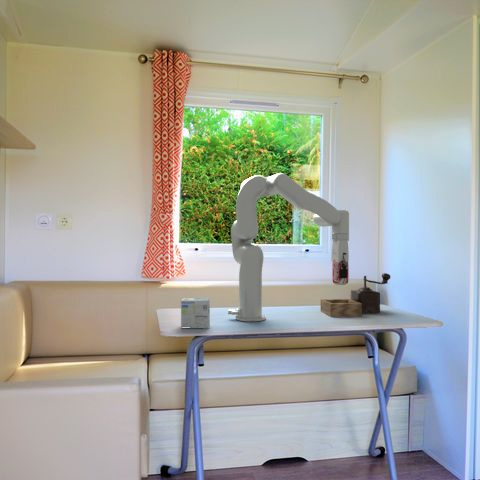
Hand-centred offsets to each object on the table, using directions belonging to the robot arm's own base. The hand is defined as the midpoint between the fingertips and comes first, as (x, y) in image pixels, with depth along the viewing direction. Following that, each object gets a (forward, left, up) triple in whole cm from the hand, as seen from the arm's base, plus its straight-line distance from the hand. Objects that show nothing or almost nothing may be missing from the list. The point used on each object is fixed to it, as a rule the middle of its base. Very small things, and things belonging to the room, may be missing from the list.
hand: (340, 277), depth 187 cm
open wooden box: (0, 0, -16) cm, 16 cm away
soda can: (0, 0, -3) cm, 3 cm away
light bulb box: (-65, -21, -17) cm, 70 cm away
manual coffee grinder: (+16, +4, -17) cm, 23 cm away
